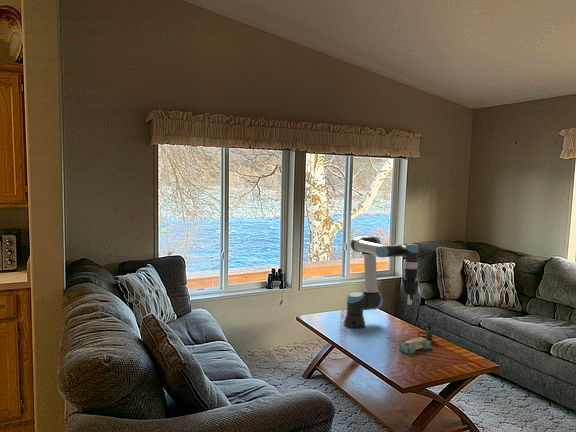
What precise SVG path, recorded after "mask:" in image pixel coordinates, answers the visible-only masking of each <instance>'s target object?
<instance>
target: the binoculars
mask: <svg viewBox="0 0 576 432" xmlns="http://www.w3.org/2000/svg"><path fill="white" fill-rule="evenodd" d="M433 333H434V330H433V329H432V326H431V323H427V326H426V331H420V332H418V333H417V337H418V338H419V337H423V338H426V340H428V341H430V342H431V343H433V341H434V340H433ZM420 334H424V335H420Z"/></svg>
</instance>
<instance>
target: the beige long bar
mask: <svg viewBox="0 0 576 432" xmlns="http://www.w3.org/2000/svg"><path fill="white" fill-rule="evenodd" d="M404 343H405V346H407V347H412V346H415V351H416V350H419V349H422V348H423V347H424V343H426V338H423V337H419V336H418V337H417V338H416V337H415V338H413V339H410V340H406V341H405V342H404Z"/></svg>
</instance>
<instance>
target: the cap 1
mask: <svg viewBox="0 0 576 432" xmlns="http://www.w3.org/2000/svg"><path fill="white" fill-rule="evenodd" d="M399 352H402V353H405V354H407V355H412V354H415V353H416V350H415V346H412V347H407V346H405V342H402V343H399Z"/></svg>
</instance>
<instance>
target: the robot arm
mask: <svg viewBox="0 0 576 432" xmlns="http://www.w3.org/2000/svg"><path fill="white" fill-rule="evenodd" d="M350 248H351V250H352V251H354V252H357V253H361V254H362V256H363V260H364V261H363V263H364V289H363V290H362V292H360V291H353V292H350V293H349V294H348V295H347V297H346V298H347V299H346V316H345V318H344V321H343V325H344V326H345V327H347V328H351V329H362V328H364V327H366V322H365V317H364V311H369V310H370V311H371V310H377V309H380V308H381V307H382V305H383V302H384V298H383V295H382V294H381V293H380V290H379V289H378V283H377V282H378V281H377V280H378V279H377V278H378V277H377V275H378V274H377V257H378V258H383V259H384V258H393V257H398V258H399V257H404V258H405V262H404V263H405V266H404V268H405V269H404V274H405V275H404V276H402V277H401V280H402V283H403V284H402V285H403V291H404V293H406V299H407V300H406V301H407V303H406V304H407V305H408V306H411V305H412V304H413V299H414V295H416V294H417V292H418V288H419V284H420V282H421V280H419V279H418V277H417V275H418V268H419V267H418V264H419V263H418V261H419V245H418V244H417V243H406V245H405V244H402V243H401V244H399V243H397V244H391V245H390V244H389V245H385V244H382V243H381V240H380V238H379V237H378V236H377V235H359V236H355V237H353V238H352V239H351V241H350Z"/></svg>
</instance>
